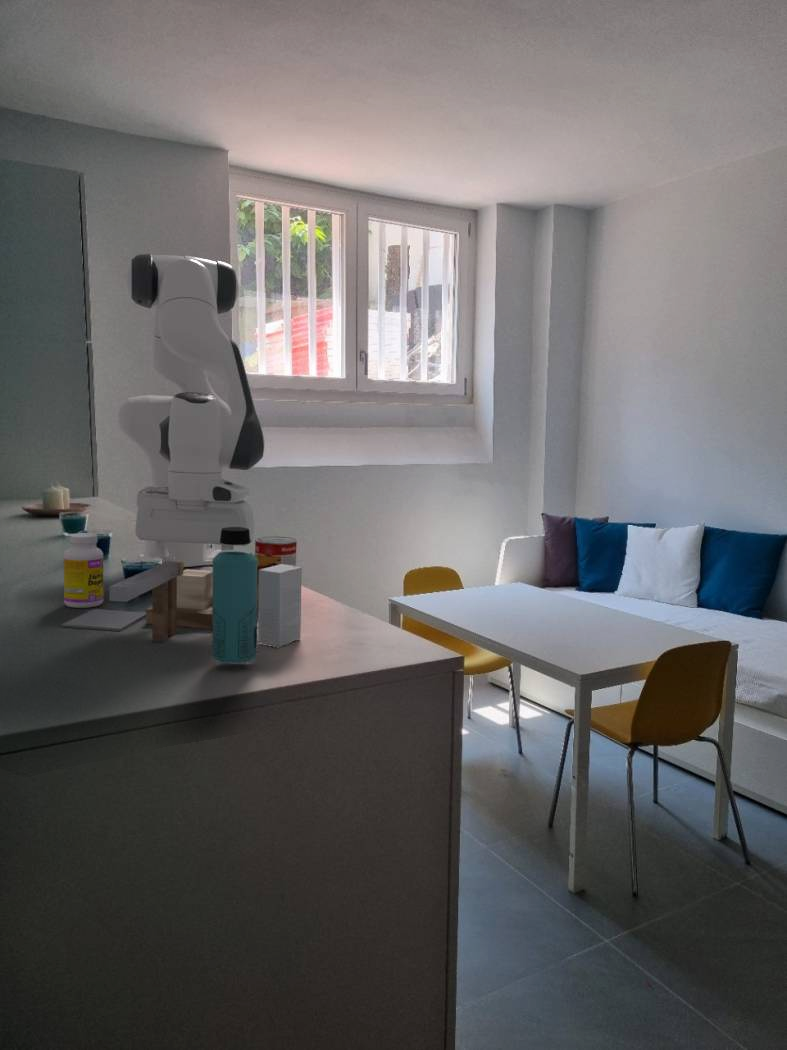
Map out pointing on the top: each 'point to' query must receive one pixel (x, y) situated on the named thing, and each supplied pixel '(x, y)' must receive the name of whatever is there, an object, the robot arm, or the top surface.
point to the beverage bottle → (234, 600)
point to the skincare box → (279, 605)
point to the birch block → (195, 589)
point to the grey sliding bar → (145, 581)
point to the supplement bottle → (83, 572)
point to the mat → (105, 620)
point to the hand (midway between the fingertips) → (194, 568)
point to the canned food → (274, 552)
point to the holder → (173, 613)
